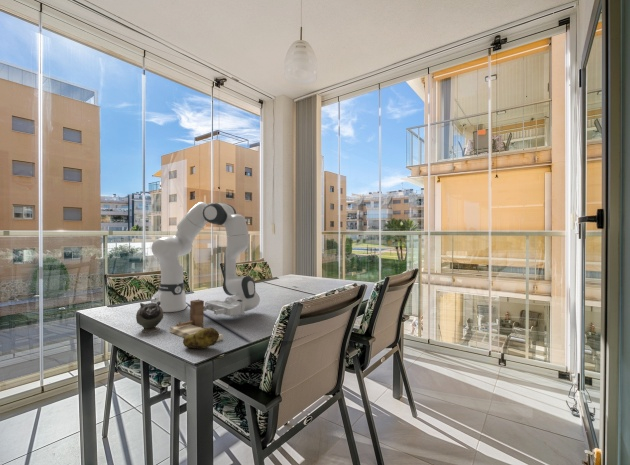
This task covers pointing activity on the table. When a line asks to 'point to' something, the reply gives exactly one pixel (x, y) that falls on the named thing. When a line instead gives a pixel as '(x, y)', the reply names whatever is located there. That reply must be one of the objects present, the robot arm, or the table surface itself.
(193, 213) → the robot arm
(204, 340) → the potato
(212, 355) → the table surface
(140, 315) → the round clay pot
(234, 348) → the table surface
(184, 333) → the plank
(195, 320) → the wooden block
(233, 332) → the table surface
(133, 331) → the table surface
